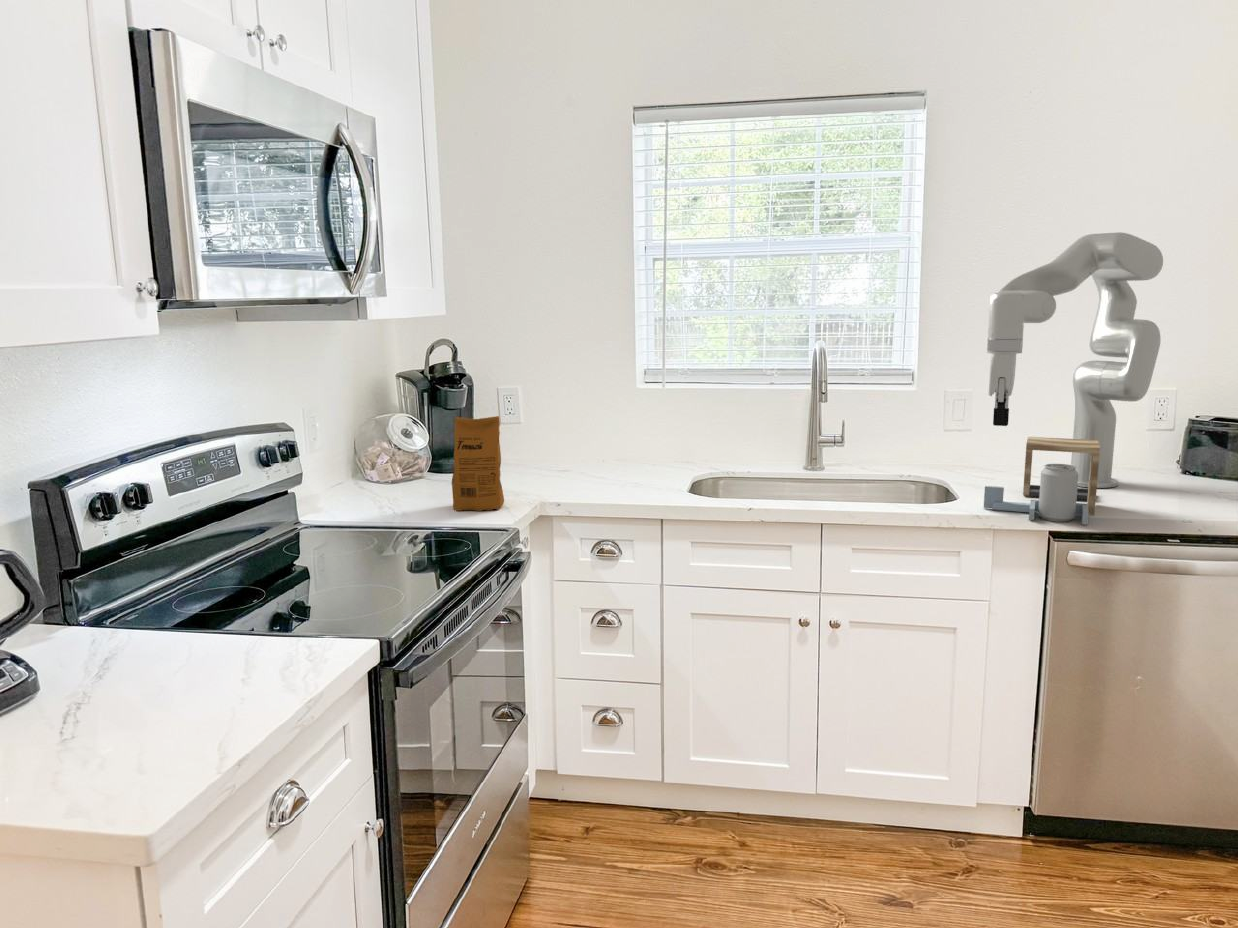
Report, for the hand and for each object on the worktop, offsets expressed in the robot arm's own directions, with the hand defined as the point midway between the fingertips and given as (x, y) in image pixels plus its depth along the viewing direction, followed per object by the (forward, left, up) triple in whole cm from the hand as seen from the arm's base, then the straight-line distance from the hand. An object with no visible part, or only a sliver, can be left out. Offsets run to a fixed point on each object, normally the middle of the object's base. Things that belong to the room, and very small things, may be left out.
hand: (1000, 425), depth 219 cm
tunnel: (0, +13, -19) cm, 23 cm away
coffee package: (+50, -113, -19) cm, 125 cm away
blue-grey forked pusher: (+12, +8, -18) cm, 23 cm away
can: (+12, +13, -19) cm, 26 cm away
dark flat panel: (-13, +13, -19) cm, 26 cm away
